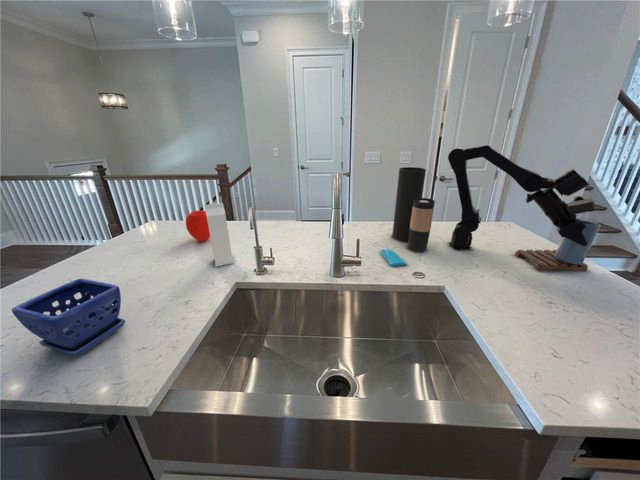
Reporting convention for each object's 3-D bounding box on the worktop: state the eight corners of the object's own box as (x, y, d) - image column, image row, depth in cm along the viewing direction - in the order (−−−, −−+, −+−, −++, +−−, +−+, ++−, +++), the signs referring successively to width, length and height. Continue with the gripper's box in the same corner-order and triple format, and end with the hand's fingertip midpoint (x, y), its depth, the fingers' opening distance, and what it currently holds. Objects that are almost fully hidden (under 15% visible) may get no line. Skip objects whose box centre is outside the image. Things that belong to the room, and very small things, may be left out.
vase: (387, 235, 119) (394, 168, 107) (405, 232, 122) (413, 166, 111) (402, 243, 110) (410, 171, 99) (420, 239, 114) (431, 169, 102)
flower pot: (96, 315, 68) (79, 276, 64) (134, 324, 65) (120, 284, 60) (33, 353, 57) (7, 308, 52) (75, 367, 53) (51, 320, 49)
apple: (223, 238, 118) (218, 209, 113) (200, 247, 109) (193, 216, 103) (207, 233, 124) (201, 206, 118) (183, 241, 115) (177, 212, 109)
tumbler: (579, 266, 84) (598, 226, 79) (551, 258, 89) (567, 220, 85) (584, 261, 88) (602, 224, 83) (557, 254, 93) (573, 218, 89)
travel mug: (404, 245, 108) (410, 198, 101) (421, 244, 109) (429, 197, 101) (411, 252, 101) (418, 203, 94) (430, 252, 102) (439, 202, 94)
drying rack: (538, 270, 88) (540, 264, 87) (514, 255, 99) (516, 249, 98) (586, 270, 87) (589, 264, 86) (557, 255, 98) (559, 249, 97)
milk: (233, 263, 95) (224, 205, 86) (215, 266, 93) (204, 207, 84) (231, 256, 100) (222, 200, 91) (214, 259, 98) (204, 202, 89)
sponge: (394, 249, 103) (380, 248, 102) (406, 263, 92) (391, 262, 91) (393, 252, 103) (379, 251, 102) (405, 266, 92) (390, 266, 91)
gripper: (588, 195, 74) (626, 238, 73) (573, 184, 89) (604, 220, 88) (544, 217, 81) (578, 256, 80) (537, 203, 96) (565, 237, 95)
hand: (582, 241), depth 86 cm, fingers closed on tumbler, 7 cm apart
